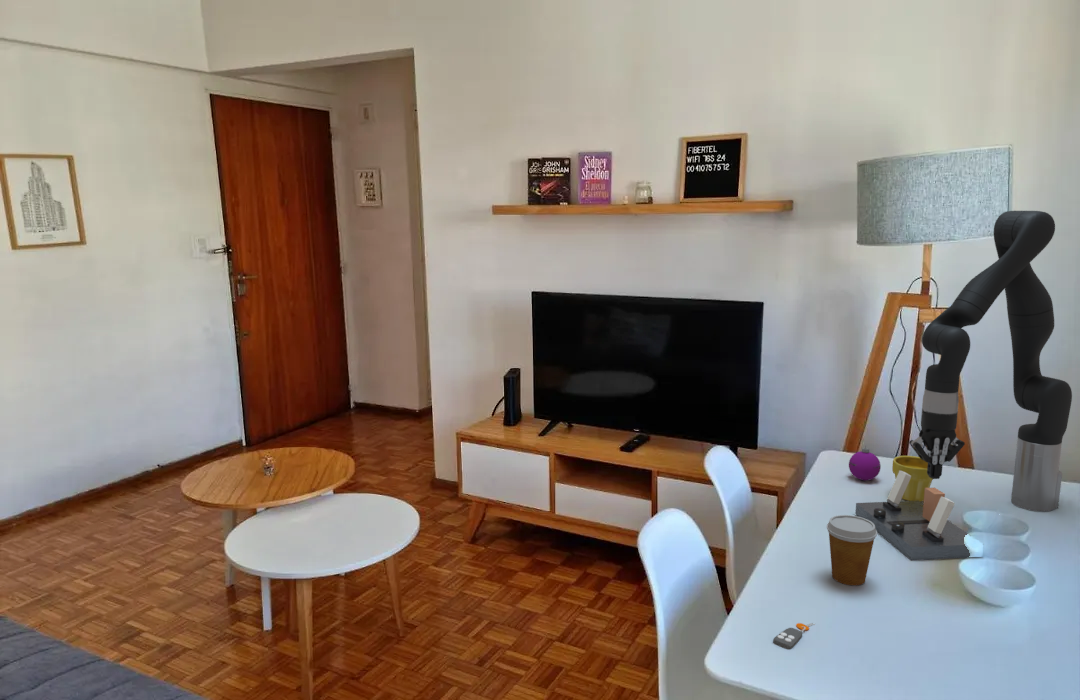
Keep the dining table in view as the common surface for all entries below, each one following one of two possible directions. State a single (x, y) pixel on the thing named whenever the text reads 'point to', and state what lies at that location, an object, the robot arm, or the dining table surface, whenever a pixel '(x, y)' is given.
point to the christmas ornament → (864, 465)
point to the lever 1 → (898, 488)
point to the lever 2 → (940, 516)
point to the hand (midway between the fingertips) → (933, 477)
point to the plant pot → (913, 476)
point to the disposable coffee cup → (850, 547)
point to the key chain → (791, 636)
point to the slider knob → (931, 502)
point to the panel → (913, 531)
